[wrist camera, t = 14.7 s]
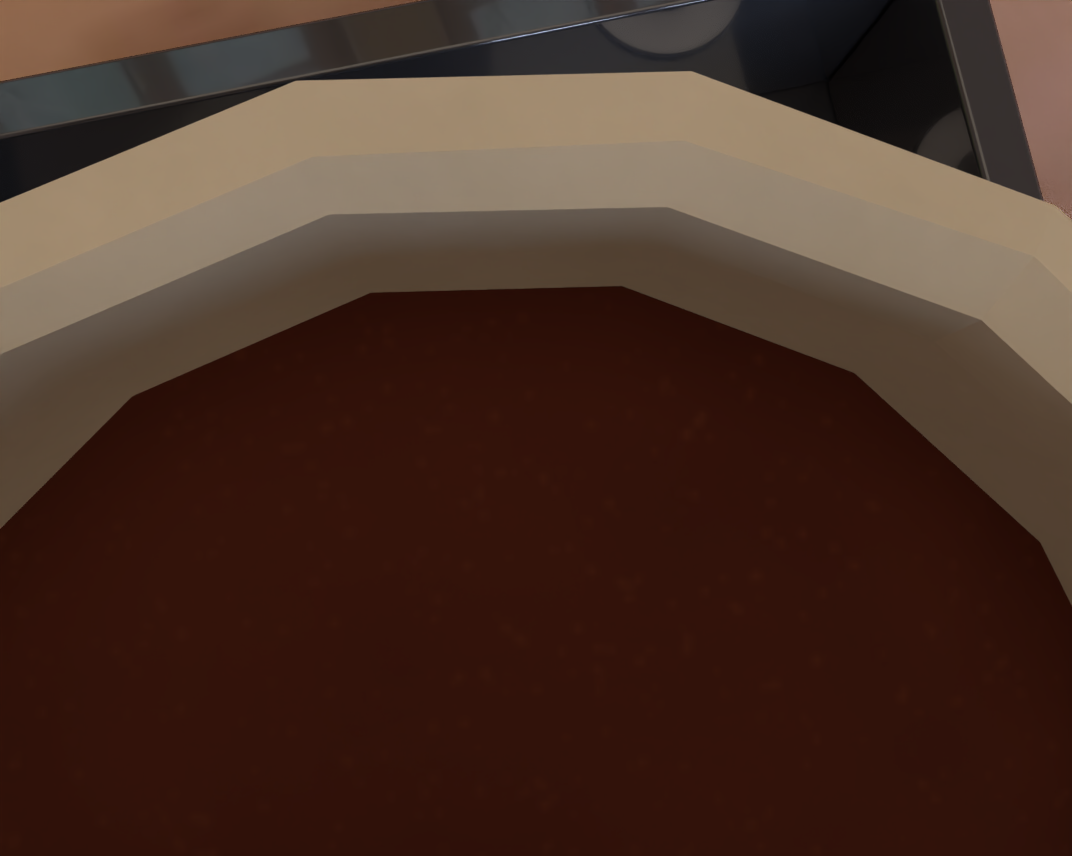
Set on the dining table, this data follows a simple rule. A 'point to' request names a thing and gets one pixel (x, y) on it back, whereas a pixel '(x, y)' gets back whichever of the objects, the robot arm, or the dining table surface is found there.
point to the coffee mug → (533, 485)
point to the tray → (565, 71)
